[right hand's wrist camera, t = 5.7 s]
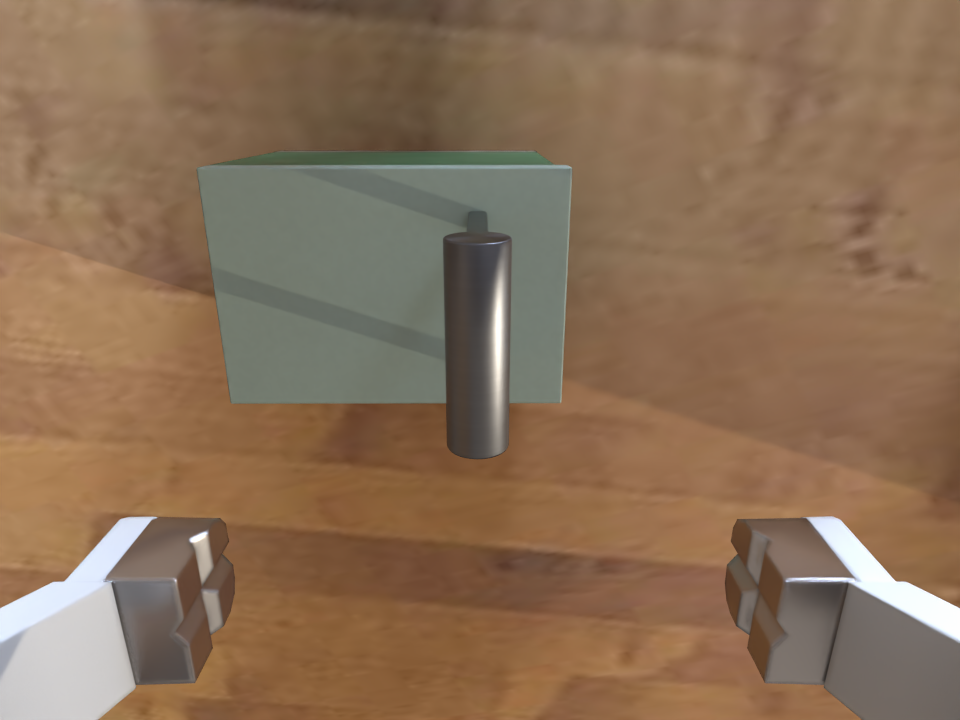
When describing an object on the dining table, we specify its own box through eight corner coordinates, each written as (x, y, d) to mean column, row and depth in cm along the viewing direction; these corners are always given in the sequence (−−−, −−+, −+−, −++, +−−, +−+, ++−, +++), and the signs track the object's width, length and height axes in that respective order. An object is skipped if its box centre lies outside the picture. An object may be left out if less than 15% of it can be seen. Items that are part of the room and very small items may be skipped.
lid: (568, 164, 25) (609, 188, 17) (558, 392, 28) (588, 499, 21) (207, 165, 25) (83, 189, 17) (239, 392, 28) (148, 500, 21)
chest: (535, 150, 34) (556, 164, 25) (530, 324, 38) (547, 392, 28) (280, 150, 34) (208, 164, 25) (297, 324, 38) (239, 392, 28)
